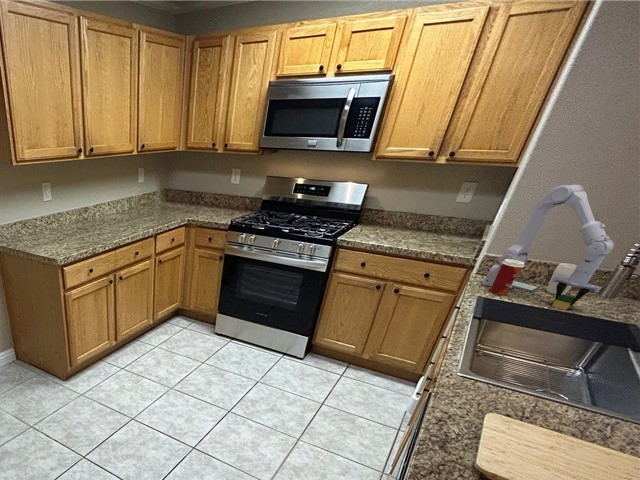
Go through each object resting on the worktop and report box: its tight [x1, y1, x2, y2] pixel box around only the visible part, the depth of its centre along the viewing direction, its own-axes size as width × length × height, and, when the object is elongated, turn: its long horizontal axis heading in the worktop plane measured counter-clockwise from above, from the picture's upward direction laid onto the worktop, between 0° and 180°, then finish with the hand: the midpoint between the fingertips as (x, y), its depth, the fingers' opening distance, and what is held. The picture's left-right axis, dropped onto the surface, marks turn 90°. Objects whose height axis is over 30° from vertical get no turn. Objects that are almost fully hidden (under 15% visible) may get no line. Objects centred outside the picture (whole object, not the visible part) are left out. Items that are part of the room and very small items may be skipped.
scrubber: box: [551, 294, 576, 311], centre depth 171 cm, size 7×4×4 cm, turn 124°
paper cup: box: [489, 259, 526, 296], centre depth 180 cm, size 8×8×14 cm
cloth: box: [511, 280, 538, 292], centre depth 192 cm, size 11×8×1 cm
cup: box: [546, 262, 578, 295], centre depth 183 cm, size 9×9×12 cm
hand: (563, 303), depth 171 cm, fingers closed on scrubber, 4 cm apart
